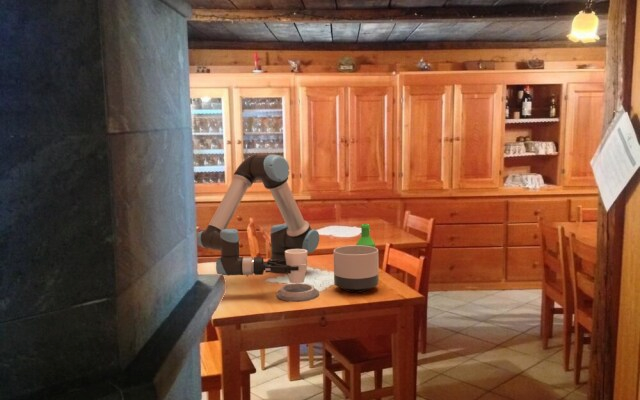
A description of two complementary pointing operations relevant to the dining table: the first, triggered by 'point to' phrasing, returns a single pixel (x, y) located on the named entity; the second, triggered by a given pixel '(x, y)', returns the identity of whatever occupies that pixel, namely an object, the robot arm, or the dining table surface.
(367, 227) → the bottle
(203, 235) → the robot arm
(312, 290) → the collar coaster
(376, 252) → the planter
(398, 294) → the dining table surface
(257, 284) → the dining table surface
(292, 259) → the foam cup
